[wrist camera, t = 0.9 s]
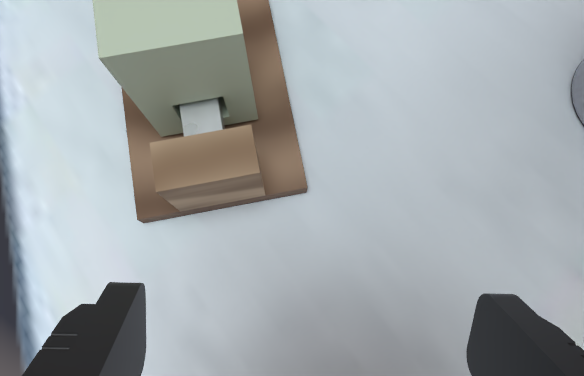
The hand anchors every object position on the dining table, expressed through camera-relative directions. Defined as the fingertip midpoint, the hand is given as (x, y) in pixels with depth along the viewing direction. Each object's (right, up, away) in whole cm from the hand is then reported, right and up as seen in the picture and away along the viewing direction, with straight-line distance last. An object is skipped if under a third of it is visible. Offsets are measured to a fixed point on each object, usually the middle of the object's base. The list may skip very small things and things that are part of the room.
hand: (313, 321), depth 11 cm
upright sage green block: (-7, +10, +22) cm, 25 cm away
